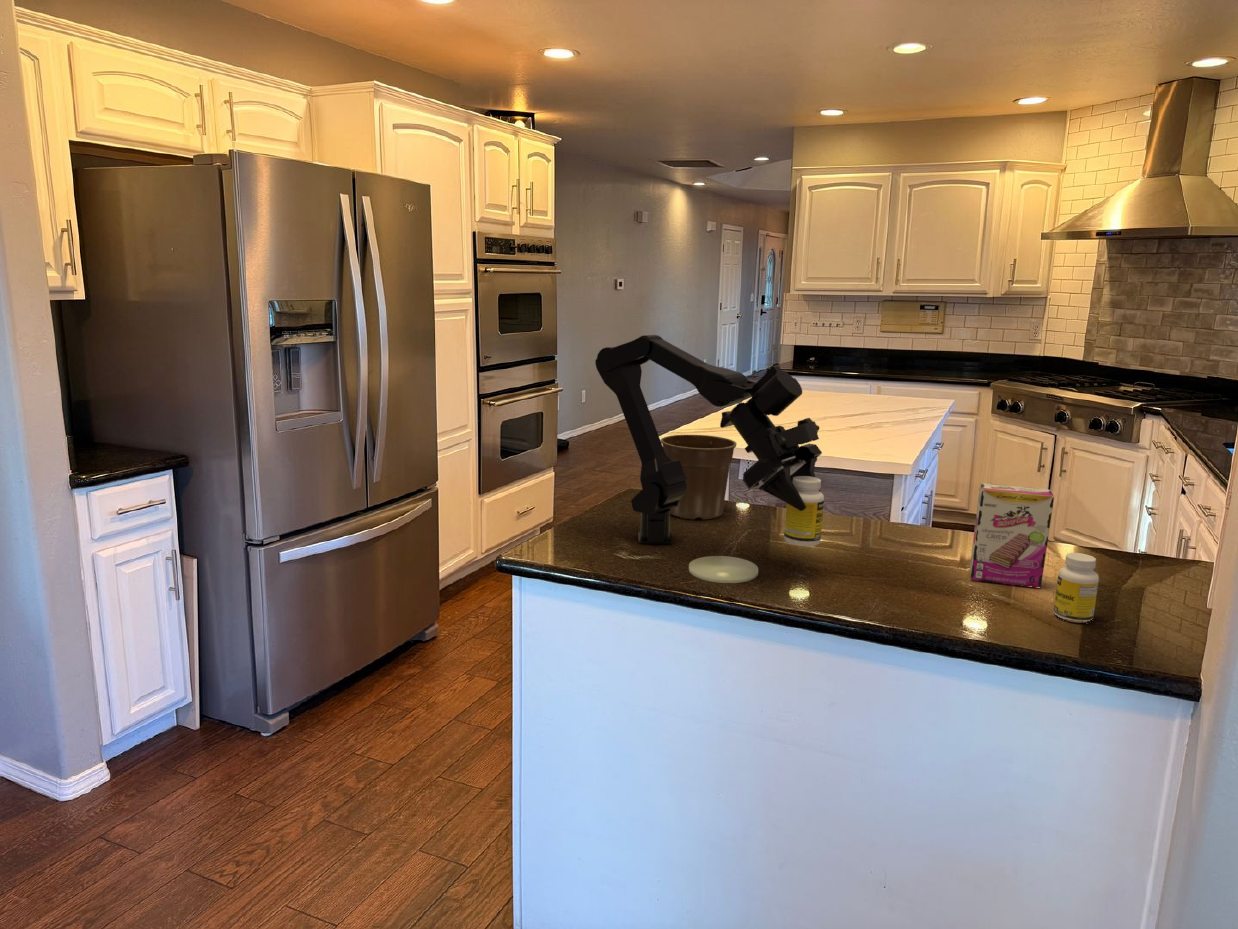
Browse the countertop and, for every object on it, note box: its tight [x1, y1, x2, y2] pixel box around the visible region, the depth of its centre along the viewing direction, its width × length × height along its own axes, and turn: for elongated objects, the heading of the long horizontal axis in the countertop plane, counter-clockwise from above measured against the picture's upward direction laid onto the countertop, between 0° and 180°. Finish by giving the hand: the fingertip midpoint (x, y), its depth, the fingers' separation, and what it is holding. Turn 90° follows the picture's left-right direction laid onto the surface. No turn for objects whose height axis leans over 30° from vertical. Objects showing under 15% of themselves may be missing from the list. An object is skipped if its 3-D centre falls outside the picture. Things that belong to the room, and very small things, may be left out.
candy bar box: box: [969, 482, 1055, 588], centre depth 141 cm, size 11×5×16 cm, turn 71°
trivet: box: [688, 555, 759, 584], centre depth 145 cm, size 12×12×1 cm
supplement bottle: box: [1053, 552, 1100, 622], centre depth 126 cm, size 5×5×10 cm
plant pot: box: [660, 434, 737, 520], centre depth 181 cm, size 16×16×16 cm
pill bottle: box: [783, 476, 825, 547], centre depth 141 cm, size 6×6×11 cm
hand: (812, 505), depth 140 cm, fingers closed on pill bottle, 6 cm apart
